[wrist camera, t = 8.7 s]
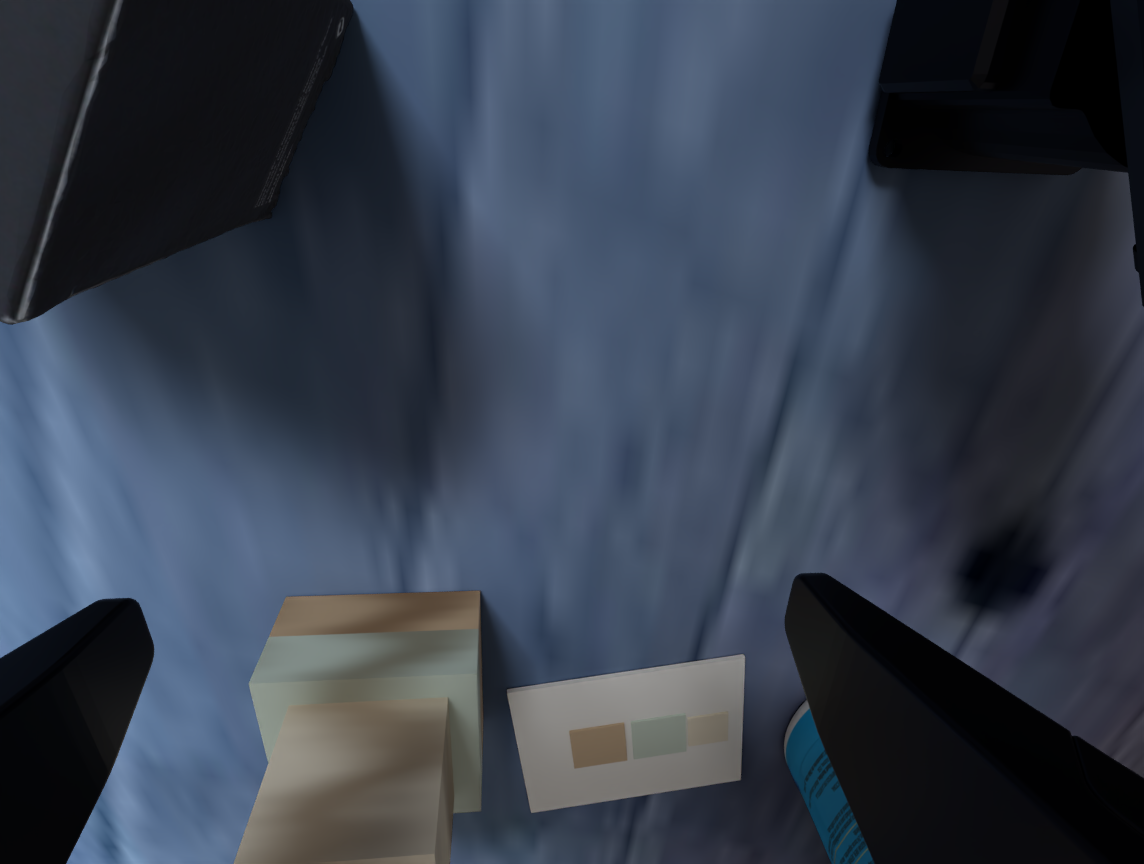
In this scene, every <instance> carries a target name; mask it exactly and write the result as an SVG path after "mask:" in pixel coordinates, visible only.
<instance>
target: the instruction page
mask: <svg viewBox="0 0 1144 864" xmlns="http://www.w3.org/2000/svg"><path fill="white" fill-rule="evenodd" d="M744 676H745V656H744V654H741V655H734V656H727V657H721V658H714V659H707V660H700V661H694V662H687V663H680V664H673V665H667V666H660V667H653V668H646V669H640V670H633V671H626V672H619V673H613V674H606V675H599V676H593V677H586V678H579V679H572V680H566V681H559V682H552V683H545V684H539V685H532V686H525V687H518V688H512V689H507V696H508V701H509V706H510V711H511V716H512V721H513V726H514V731H515V736H516V741H517V746H518V751H519V756H520V761H521V766H522V771H523V776H524V780H525V785H526V790H527V795H528V800H529V805H530V810H531V813H535V812H541V811H548V810H554V809H560V808H567V807H573V806H580V805H586V804H592V803H599V802H605V801H611V800H618V799H624V798H630V797H637V796H643V795H649V794H656V793H662V792H669V791H675V790H681V789H688V788H694V787H700V786H707V785H713V784H719V783H726V782H732V781H738V780H741V759H742V731H743V704H744Z"/></svg>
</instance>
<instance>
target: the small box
mask: <svg viewBox="0 0 1144 864" xmlns="http://www.w3.org/2000/svg"><path fill="white" fill-rule="evenodd" d="M352 13H353V5H352V3H351V1H350V0H0V321H1V322H3V323H6V324H16V323H20V322H25V321H29V320H31V319H33V318H35V317H38V316H40V315H42V314H44V313H45V312H47V311H48V310H50V309H51V308H53V307H54V306H56V305H57V304H59V303H61V302H63V301H65V300H67V299H68V298H70V297H72V296H74V295H77V294H79V293H81V292H84V291H86V290H88V289H91V288H95V287H98V286H100V285H102V284H104V283H106V282H108V281H111V280H113V279H117V278H119V277H121V276H123V275H126V274H129V273H130V272H132V271H134V270H136V269H139V268H141V267H145V266H148V265H151V264H152V263H154V262H156V261H159V260H161V259H164V258H167V257H168V256H170V255H172V254H175V253H177V252H179V251H182V250H184V249H187V248H190V247H192V246H194V245H196V244H199V243H202V242H204V241H207V240H209V239H211V238H214V237H216V236H219V235H221V234H223V233H225V232H227V231H230V230H232V229H234V228H237V227H241V226H244V225H246V224H249V223H252V222H257V221H261V220H264V219H269V218H271V217H272V212H271V211H272V210H273V208H274V207H275V206H276V205H277V201H278V197H279V194H280V186H281V182H282V180H283V178H284V177H285V176H287V174H288V173H289V164H290V162H291V160H292V158H293V155H294V152H295V150H296V148H297V144H298V142H299V141H300V140H301V138H302V133H303V130H304V128H305V127H306V124H307V121H308V119H309V117H310V115H311V113H312V112H313V111H314V110H315V104H316V101H317V99H318V96H319V94H320V92H321V90H322V86H323V84H324V82H326V81H327V80H328V79H329V78H330V77H331V74H332V70H333V67H334V66H335V64H336V59H337V56H338V54H339V52H340V48H341V44H342V41H343V38H344V33H345V30H346V28H347V26H348V23H349V21H350V19H351V17H352Z"/></svg>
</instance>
